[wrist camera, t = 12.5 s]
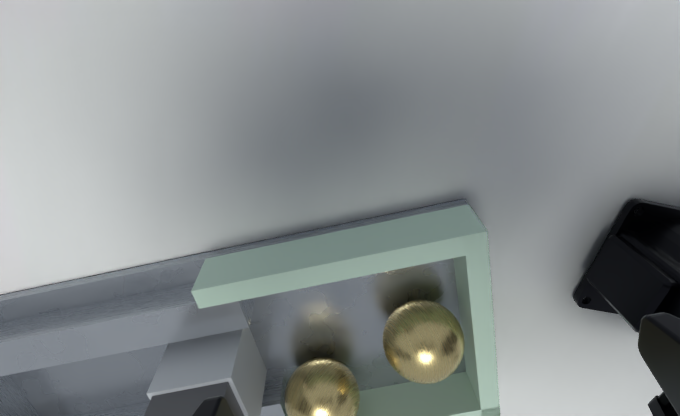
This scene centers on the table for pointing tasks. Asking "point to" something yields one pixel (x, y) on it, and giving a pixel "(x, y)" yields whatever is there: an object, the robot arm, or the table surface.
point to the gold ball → (423, 341)
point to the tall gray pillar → (209, 375)
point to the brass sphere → (322, 390)
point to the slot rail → (270, 324)
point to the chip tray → (375, 257)
